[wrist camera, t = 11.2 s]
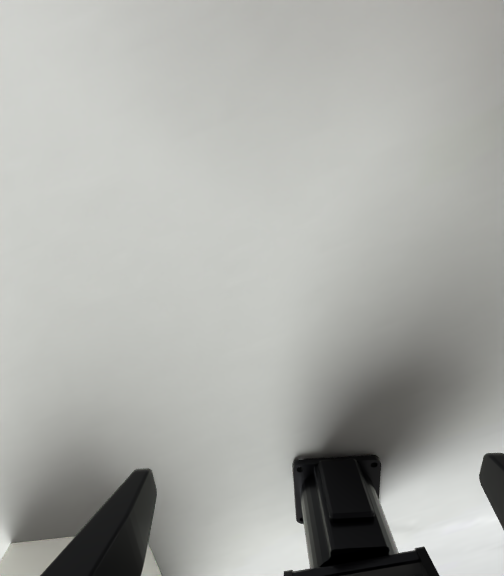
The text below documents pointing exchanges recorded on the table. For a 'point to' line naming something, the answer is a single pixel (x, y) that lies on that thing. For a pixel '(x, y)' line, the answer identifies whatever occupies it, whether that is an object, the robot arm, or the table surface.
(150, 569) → the milk
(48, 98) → the table surface
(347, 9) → the table surface
